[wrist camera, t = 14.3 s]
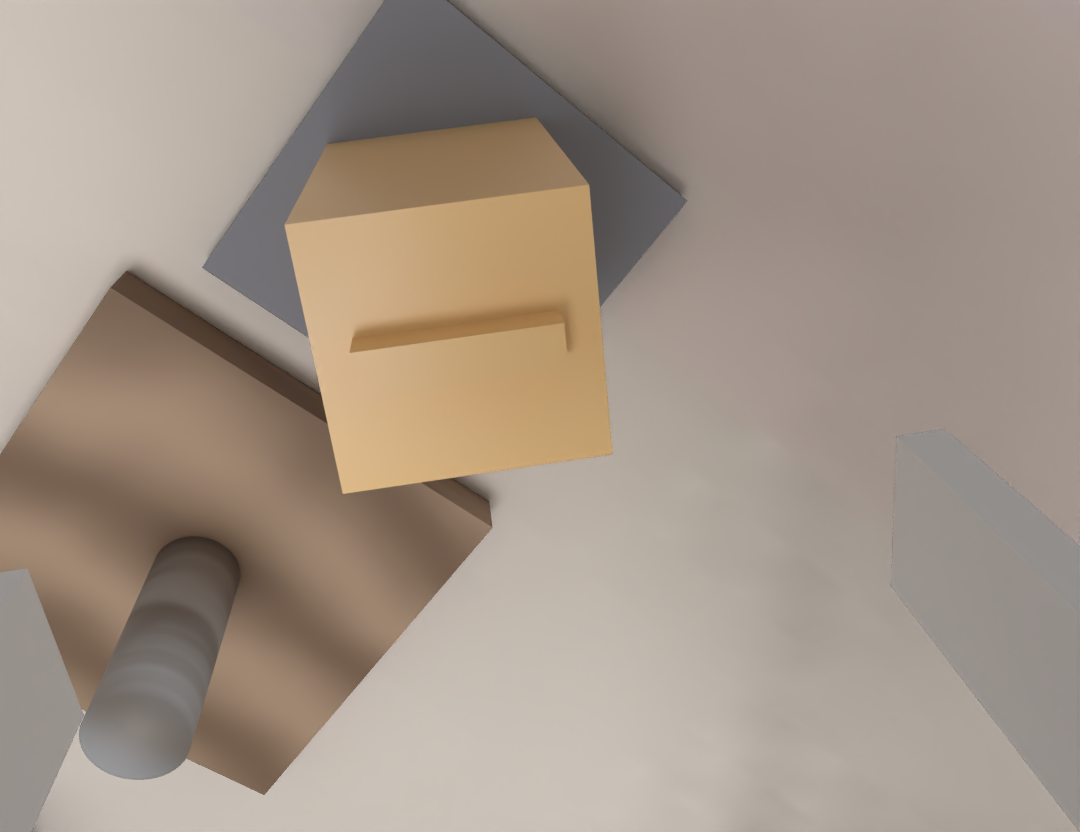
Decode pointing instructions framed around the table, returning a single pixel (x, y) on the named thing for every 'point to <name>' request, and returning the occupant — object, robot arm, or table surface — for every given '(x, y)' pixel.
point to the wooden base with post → (209, 545)
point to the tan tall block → (452, 304)
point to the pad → (425, 105)
